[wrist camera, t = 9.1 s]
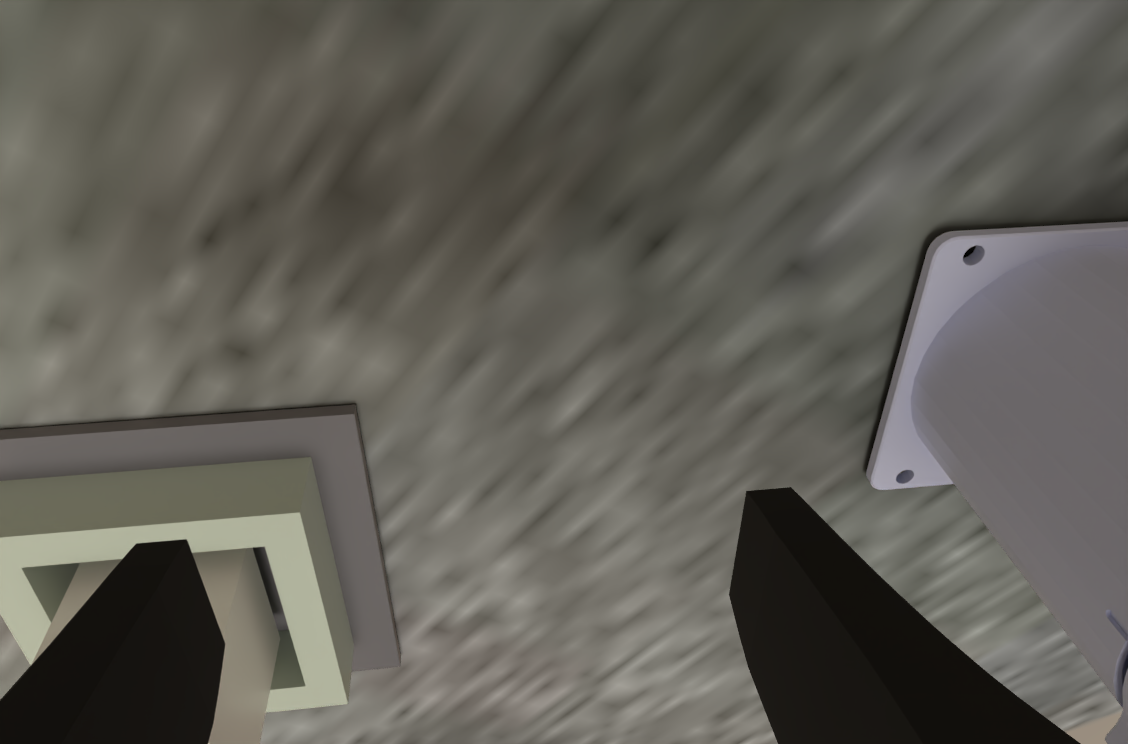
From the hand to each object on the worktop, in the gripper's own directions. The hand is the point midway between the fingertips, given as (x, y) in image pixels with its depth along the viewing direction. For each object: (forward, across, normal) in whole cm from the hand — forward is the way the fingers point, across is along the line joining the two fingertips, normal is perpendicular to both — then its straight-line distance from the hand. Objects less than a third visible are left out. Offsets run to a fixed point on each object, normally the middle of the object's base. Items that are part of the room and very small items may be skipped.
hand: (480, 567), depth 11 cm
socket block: (+9, +8, +9) cm, 15 cm away
